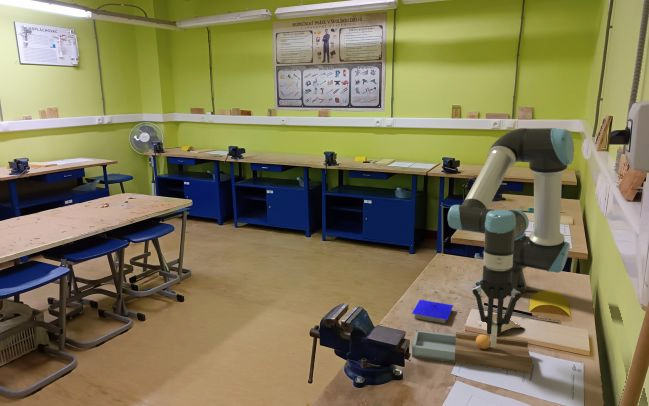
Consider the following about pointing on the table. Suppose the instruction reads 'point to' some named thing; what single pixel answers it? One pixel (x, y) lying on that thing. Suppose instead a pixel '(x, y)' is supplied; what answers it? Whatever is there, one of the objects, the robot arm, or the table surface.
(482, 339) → the ball
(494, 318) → the brown curved sheet
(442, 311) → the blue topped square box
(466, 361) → the chute
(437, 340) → the tray
